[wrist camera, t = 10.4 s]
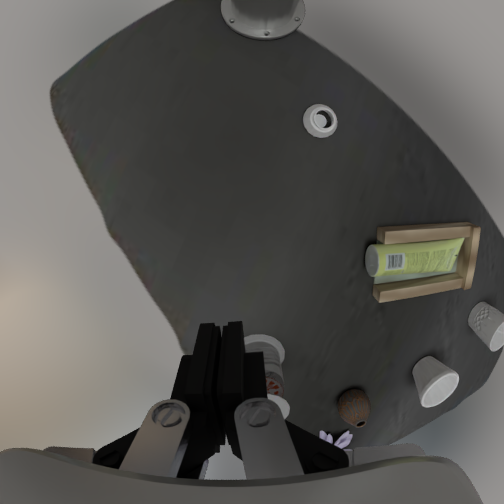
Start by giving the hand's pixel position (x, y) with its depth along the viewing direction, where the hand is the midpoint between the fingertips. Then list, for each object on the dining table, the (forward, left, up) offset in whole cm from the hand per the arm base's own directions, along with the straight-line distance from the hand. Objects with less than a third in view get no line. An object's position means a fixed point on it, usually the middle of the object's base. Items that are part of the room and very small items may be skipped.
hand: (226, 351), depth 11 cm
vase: (+41, +20, -32) cm, 56 cm away
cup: (+37, +38, -32) cm, 62 cm away
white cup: (+26, +52, -32) cm, 67 cm away
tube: (+9, +19, -29) cm, 36 cm away
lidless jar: (-12, +13, -32) cm, 37 cm away
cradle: (+10, +31, -32) cm, 46 cm away
